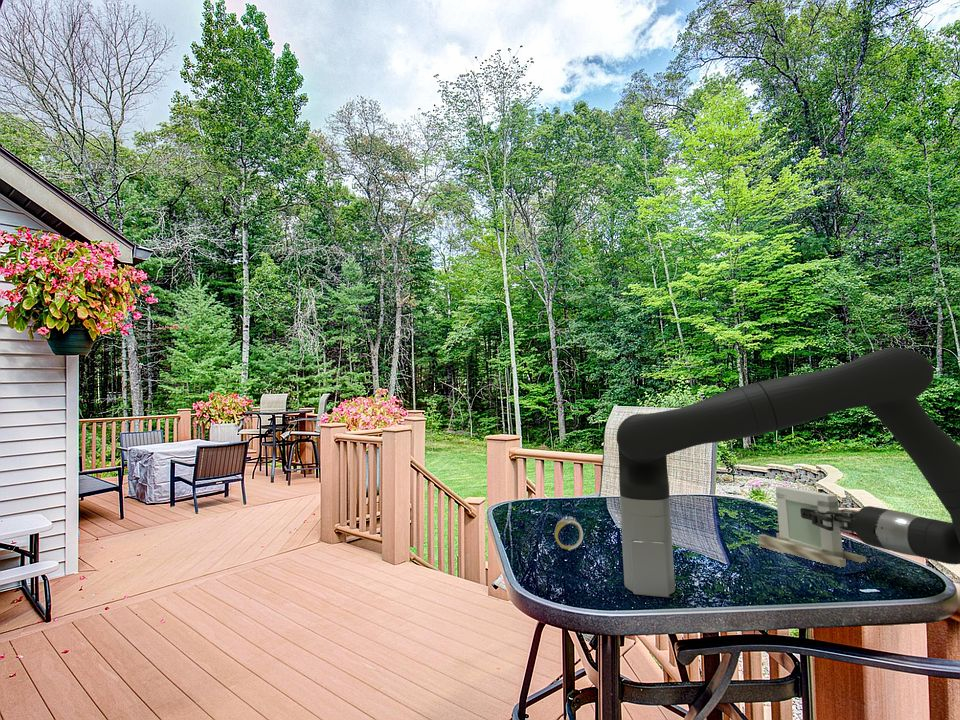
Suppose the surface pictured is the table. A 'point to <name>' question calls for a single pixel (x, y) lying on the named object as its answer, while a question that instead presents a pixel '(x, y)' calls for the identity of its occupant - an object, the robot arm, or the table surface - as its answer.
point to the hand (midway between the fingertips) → (809, 512)
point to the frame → (803, 529)
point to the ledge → (807, 551)
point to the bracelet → (560, 525)
